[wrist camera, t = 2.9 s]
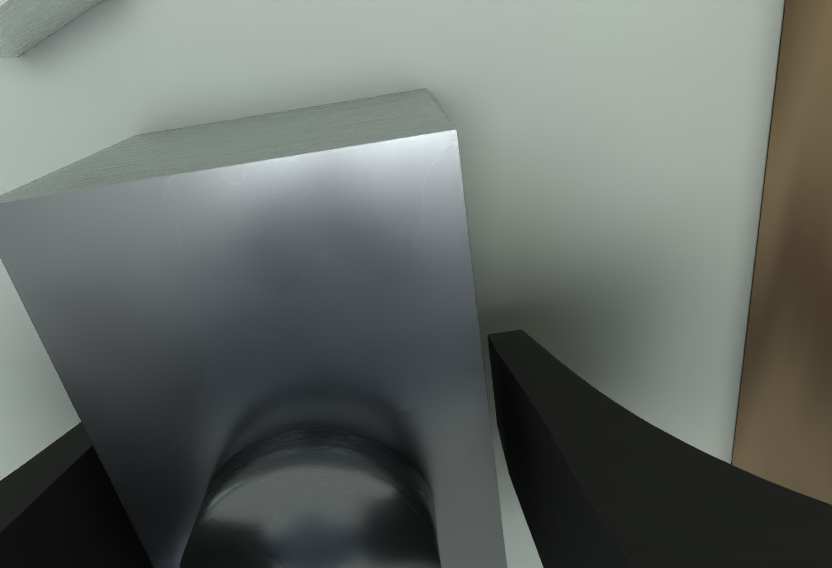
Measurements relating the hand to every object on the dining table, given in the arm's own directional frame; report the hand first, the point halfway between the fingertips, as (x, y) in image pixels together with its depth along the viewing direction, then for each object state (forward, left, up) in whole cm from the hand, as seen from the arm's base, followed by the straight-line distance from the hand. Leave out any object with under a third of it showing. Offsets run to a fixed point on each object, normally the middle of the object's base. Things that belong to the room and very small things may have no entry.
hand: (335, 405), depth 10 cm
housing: (0, 0, -2) cm, 2 cm away
